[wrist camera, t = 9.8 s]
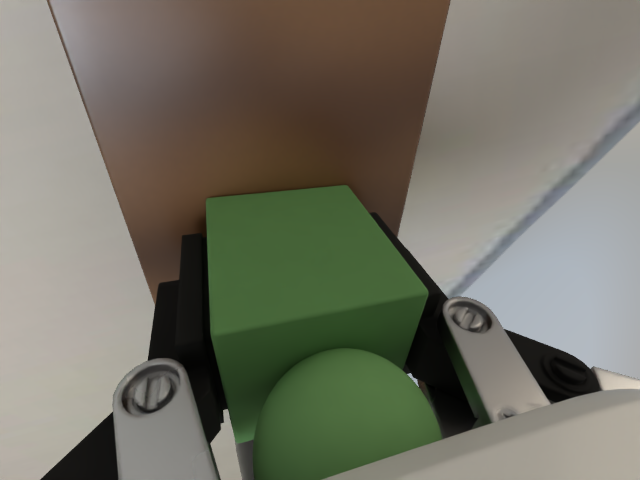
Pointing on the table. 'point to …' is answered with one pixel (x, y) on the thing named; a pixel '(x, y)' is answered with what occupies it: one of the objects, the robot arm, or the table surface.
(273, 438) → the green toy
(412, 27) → the bench
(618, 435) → the robot arm
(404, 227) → the table surface
